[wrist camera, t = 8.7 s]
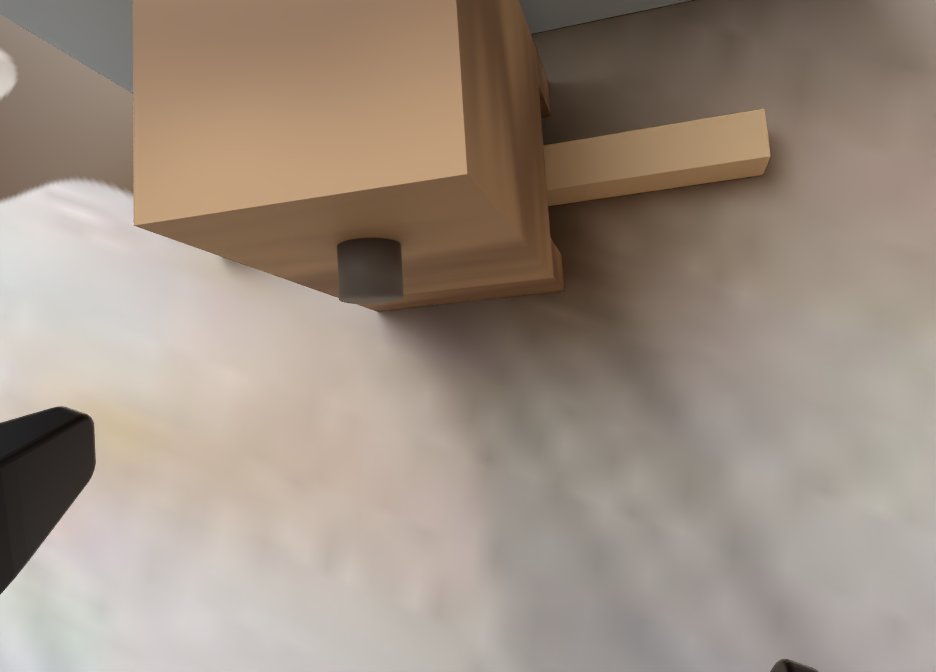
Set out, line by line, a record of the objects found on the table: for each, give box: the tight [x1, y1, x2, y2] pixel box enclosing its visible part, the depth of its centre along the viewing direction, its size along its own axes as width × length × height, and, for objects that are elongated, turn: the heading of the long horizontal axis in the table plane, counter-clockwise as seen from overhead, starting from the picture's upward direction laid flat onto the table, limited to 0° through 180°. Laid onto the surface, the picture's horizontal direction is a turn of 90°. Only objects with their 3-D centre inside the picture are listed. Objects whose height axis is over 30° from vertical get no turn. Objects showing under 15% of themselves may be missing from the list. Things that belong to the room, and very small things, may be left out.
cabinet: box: [133, 0, 565, 311], centre depth 16 cm, size 7×6×10 cm
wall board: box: [0, 0, 771, 206], centre depth 17 cm, size 6×20×9 cm, turn 94°
